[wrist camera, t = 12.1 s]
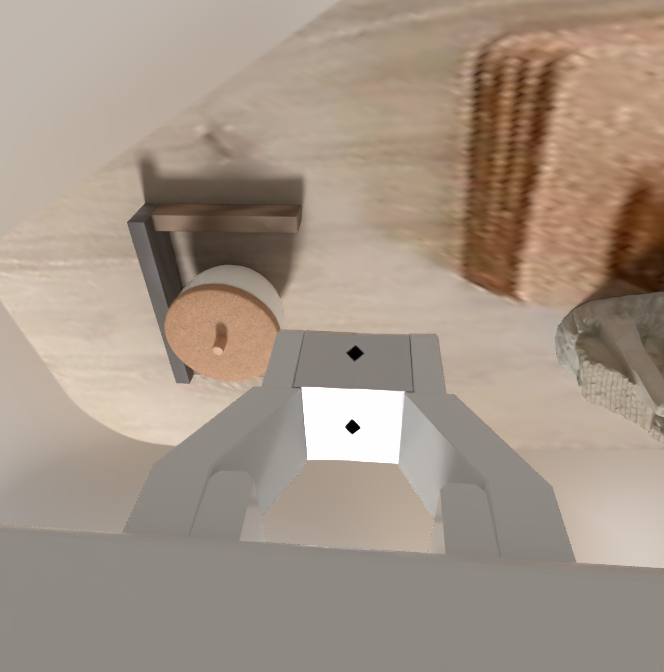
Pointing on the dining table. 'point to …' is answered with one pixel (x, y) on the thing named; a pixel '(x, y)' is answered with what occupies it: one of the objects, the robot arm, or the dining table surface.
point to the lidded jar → (225, 323)
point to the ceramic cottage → (619, 356)
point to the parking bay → (161, 218)
